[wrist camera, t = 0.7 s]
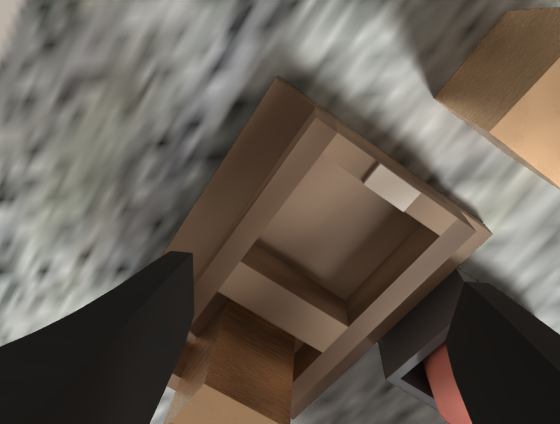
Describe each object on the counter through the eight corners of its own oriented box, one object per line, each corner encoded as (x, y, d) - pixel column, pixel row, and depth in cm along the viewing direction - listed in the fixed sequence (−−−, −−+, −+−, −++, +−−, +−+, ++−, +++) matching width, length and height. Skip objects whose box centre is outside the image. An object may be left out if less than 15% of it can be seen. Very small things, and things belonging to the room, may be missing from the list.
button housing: (538, 322, 21) (570, 365, 19) (456, 386, 24) (474, 432, 21) (454, 265, 20) (476, 302, 18) (376, 337, 23) (385, 379, 20)
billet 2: (578, 72, 16) (711, 96, 11) (501, 150, 18) (584, 206, 12) (506, 10, 15) (610, 3, 10) (433, 98, 17) (489, 132, 12)
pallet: (484, 224, 19) (514, 259, 16) (293, 405, 25) (291, 454, 23) (277, 75, 17) (270, 85, 14) (124, 313, 23) (98, 354, 20)
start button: (529, 344, 20) (562, 394, 17) (465, 393, 22) (486, 445, 19) (464, 301, 19) (488, 346, 17) (402, 355, 21) (416, 404, 18)
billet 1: (296, 327, 21) (289, 429, 16) (256, 370, 23) (237, 476, 18) (232, 290, 21) (203, 383, 15) (195, 337, 22) (158, 437, 17)
